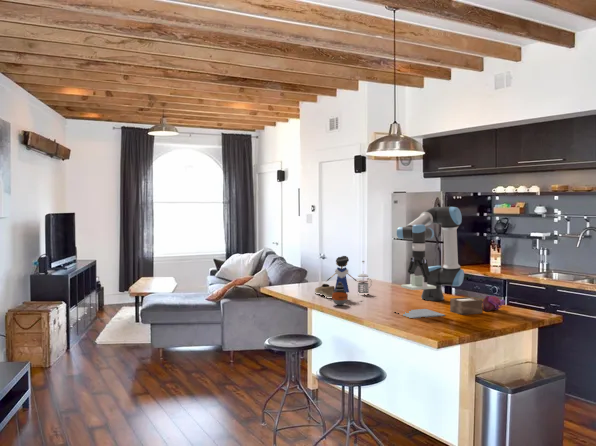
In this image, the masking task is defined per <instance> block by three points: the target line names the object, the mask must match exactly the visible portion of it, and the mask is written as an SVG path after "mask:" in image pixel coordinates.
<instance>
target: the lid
mask: <svg viewBox="0 0 596 446" xmlns="http://www.w3.org/2000/svg"><path fill="white" fill-rule="evenodd" d="M400 288H404V289H407V290H411V291H415V290H418V291H419V290H423V289H436V286H433V285H429V284H427V288H423V275H415V276H412V284H410V283H409V284H401V285H400Z"/></svg>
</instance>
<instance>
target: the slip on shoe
mask: <svg viewBox="0 0 596 446" xmlns="http://www.w3.org/2000/svg"><path fill="white" fill-rule="evenodd" d="M334 291H335V285H331V286H330V284H328V283H322V285H321V286H319V287H316V288H315V289H314V293H315V292H316V293H320V294H322V295H324V296H326V297H332V294H333V293H334ZM316 293H315V294H316ZM324 296H323V297H324Z"/></svg>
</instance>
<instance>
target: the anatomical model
mask: <svg viewBox="0 0 596 446" xmlns="http://www.w3.org/2000/svg"><path fill="white" fill-rule="evenodd" d="M482 300H483V305H482V311H484V312H489V311H493V310H499V309H501V308H502V306H504V305H505V304H506V303H505V299H499V297H497V296H496V295H495V294H494V295H490V296H489V295H486V296H485V298H484V299H482Z"/></svg>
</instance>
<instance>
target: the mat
mask: <svg viewBox="0 0 596 446" xmlns="http://www.w3.org/2000/svg"><path fill="white" fill-rule="evenodd" d="M410 310H411V311H409V313H406V312H405V314H403V316H402V317H404V316H406V317H405V318H407V317H409V318H408V319H410V318H413V319H422V318H421V317H425V318H434V317H435V318H436V317H444V316H446V314H444V313H440V312H437V311H434V310H432V309H427V308H420V309H410Z"/></svg>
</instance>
